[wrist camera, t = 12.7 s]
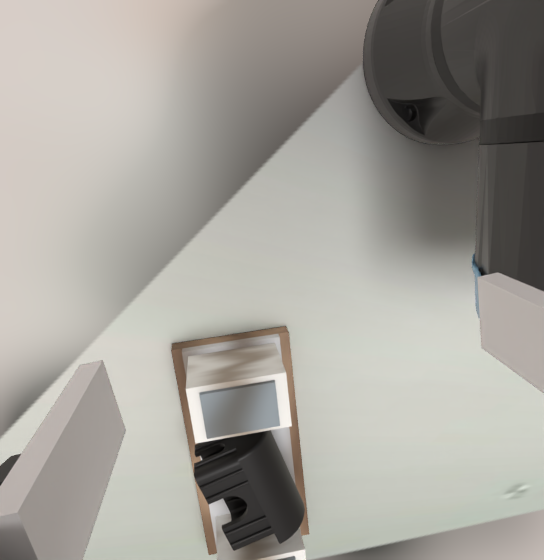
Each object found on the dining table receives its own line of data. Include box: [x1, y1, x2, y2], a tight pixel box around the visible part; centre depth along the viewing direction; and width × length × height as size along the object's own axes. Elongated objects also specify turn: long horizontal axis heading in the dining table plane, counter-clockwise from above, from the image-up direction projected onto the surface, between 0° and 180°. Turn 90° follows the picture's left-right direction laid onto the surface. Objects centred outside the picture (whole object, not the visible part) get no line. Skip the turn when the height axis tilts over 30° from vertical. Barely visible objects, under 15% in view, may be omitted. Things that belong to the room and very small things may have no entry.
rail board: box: [171, 326, 309, 560], centre depth 42 cm, size 11×24×9 cm, turn 6°
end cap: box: [194, 430, 305, 551], centre depth 41 cm, size 10×7×7 cm
